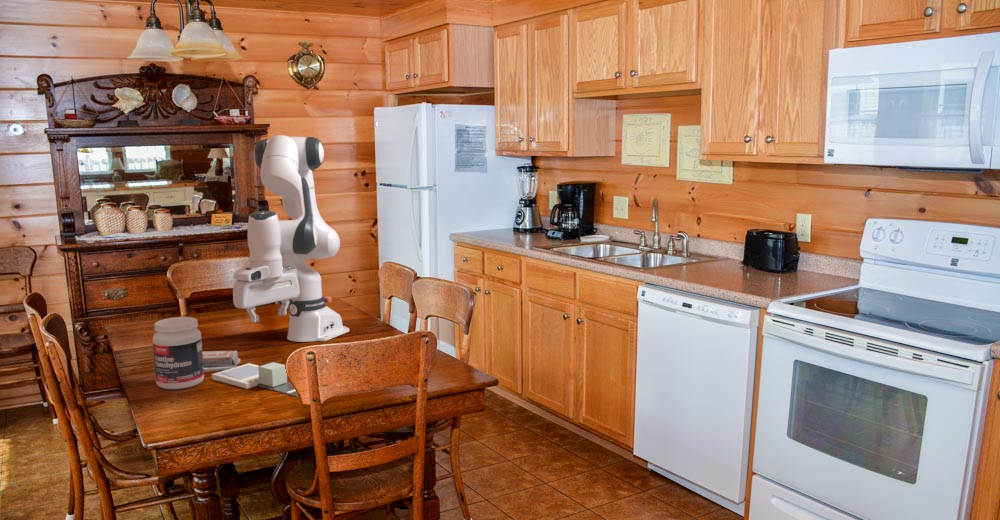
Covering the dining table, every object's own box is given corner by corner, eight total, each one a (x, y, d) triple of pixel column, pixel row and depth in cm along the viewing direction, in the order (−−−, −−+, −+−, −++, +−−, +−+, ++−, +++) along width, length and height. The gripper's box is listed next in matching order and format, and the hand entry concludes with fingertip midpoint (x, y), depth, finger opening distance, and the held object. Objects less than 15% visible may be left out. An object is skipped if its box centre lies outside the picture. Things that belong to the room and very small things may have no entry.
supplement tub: (153, 393, 211) (147, 328, 208) (159, 379, 223) (154, 318, 220) (202, 388, 214) (197, 324, 211) (206, 375, 227) (202, 314, 224)
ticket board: (249, 367, 233) (249, 362, 233) (323, 387, 214) (323, 381, 214) (212, 379, 223) (211, 373, 222) (287, 400, 204) (286, 394, 204)
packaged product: (240, 347, 240) (232, 356, 230) (241, 362, 241) (233, 371, 231) (181, 349, 238) (170, 358, 229) (182, 364, 239) (171, 374, 229)
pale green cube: (273, 378, 220) (272, 361, 220) (287, 382, 217) (286, 364, 216) (259, 383, 216) (258, 365, 216) (273, 387, 213) (271, 369, 212)
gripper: (288, 263, 222) (291, 310, 224) (228, 274, 205) (231, 324, 207) (303, 265, 218) (305, 312, 220) (242, 276, 202) (245, 327, 204)
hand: (269, 318), depth 214 cm, fingers open, 8 cm apart
